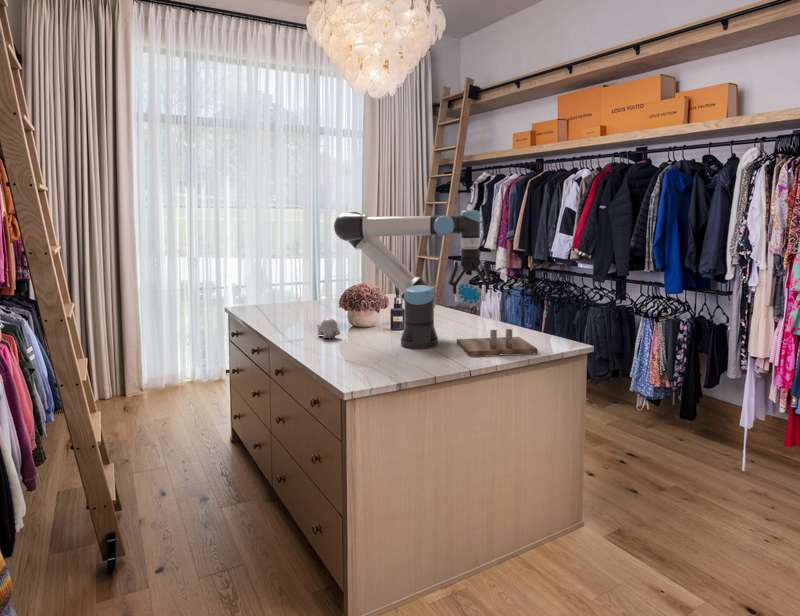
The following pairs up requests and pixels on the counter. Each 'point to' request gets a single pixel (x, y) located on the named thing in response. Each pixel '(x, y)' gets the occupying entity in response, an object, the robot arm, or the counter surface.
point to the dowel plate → (501, 346)
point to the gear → (469, 293)
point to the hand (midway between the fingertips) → (470, 301)
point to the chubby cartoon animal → (328, 328)
